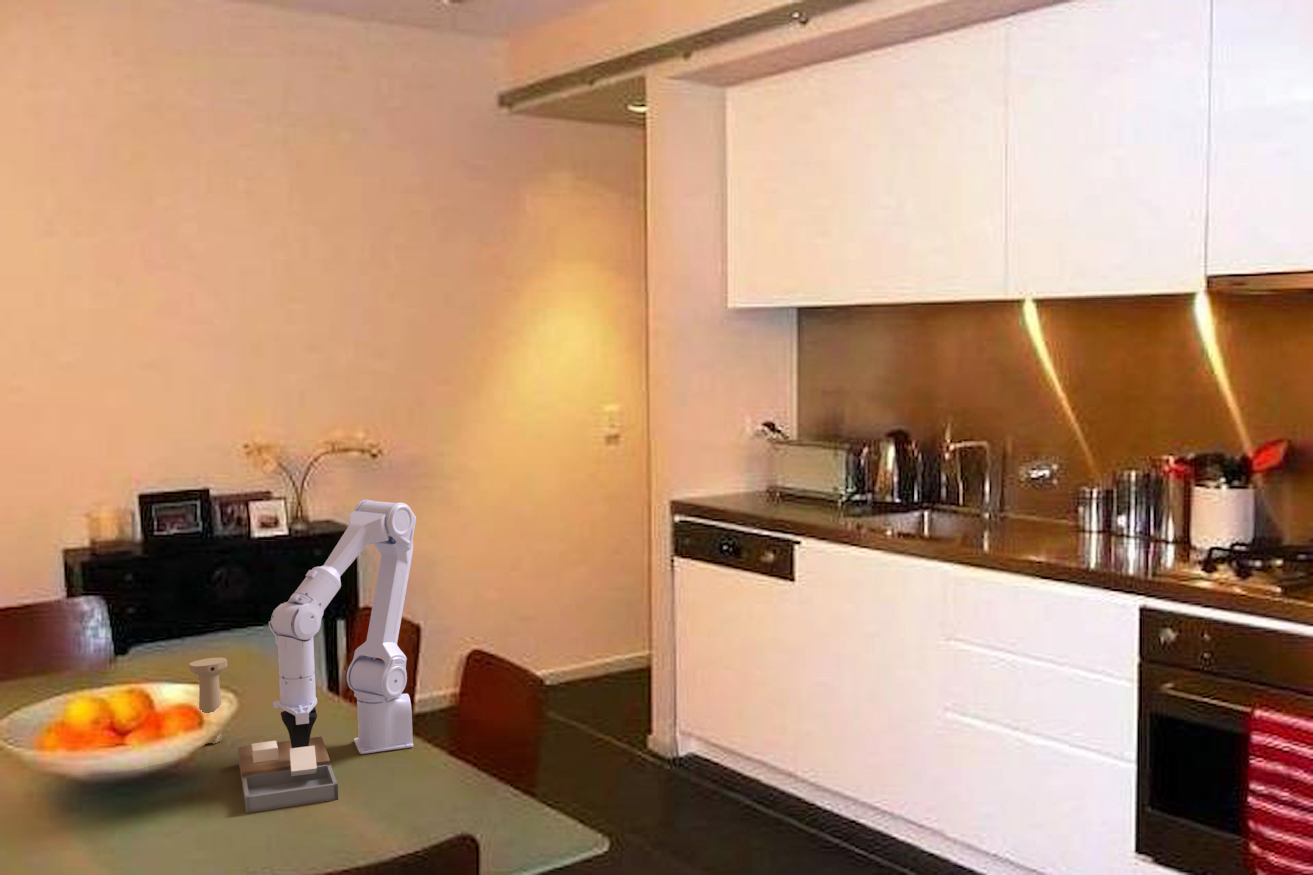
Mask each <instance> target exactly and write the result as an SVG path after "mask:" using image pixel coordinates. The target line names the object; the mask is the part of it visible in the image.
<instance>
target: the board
mask: <svg viewBox="0 0 1313 875" xmlns="http://www.w3.org/2000/svg"><path fill="white" fill-rule="evenodd" d="M276 742H277V741H276ZM277 746H278V760H271V761H263V762H256V763H253V758H252V745H247V746H240V747H237V748H238V749H237V750H238V768H239V774H240V781H241V786H242V787H241V788H242V789H243V783H242V776H248V775H255V774H262V773H269V772H276V771H284V770H290V758H289V750H290V748H292V746H291V741H290V740H284V741H278V742H277ZM309 746H315V754H316V765H317V766H319V765H326V764H331V759H330V755H329V754H328V751H327V748H326V747H327V746H325V743H324V739H323V737H322V736H314V737H310V741H309Z"/></svg>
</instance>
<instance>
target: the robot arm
mask: <svg viewBox="0 0 1313 875" xmlns="http://www.w3.org/2000/svg"><path fill="white" fill-rule="evenodd" d="M416 523H417V517H416V515H415V514H414V512H413V510H412V509H411V507H410V506H409V505H408V504H407V503H405V502H389V501H388V502H387V501H380V500H379V501H377V500H372V499H363V500H361V501H359V502H358V503H357V504H356V505H355V507H354V510H353V511H352V512H351V513H350V514H349V515H348V526H347V528H346V529H345V531H344V533H343V534H342V536H341V537H340V539H339V540H338V542H337V544H336V545H335V547H334V548H333V549H332V551H331V553H330V554H329V555H328V558H327V559H326V560H325V562H324V564H323V565H321V566H314V567H313V568H312V569H308V571H307V572H306V574H305V578H304V579H303V580H302V582H301V583H300V584H299V586H298V587H297V589H295V591H294V592H293V593H292V594H291V596H290V597H289V599H288V601H286V602H285V601H284V602H283V603H280V604H279V605H278V606H277V607H276V608H275V609H273V611H272V614H271V618H270V621H269V620H268V627H269V630H270V632H271V633H272V634H273V636H274V639H275V645H276V646H277V654H278V655H277V657H278V658H277V659H278V679H279V680H278V681H279V700H274V701H273V702H272V707H273V708H274V709H282V710H283V711H281V712H280V716H281V720H282V722H283V724H284V726H285V727H286V729H287V732H288V736H289V741H291V746H292V748H298V747H307V746H309V741H310V738H311V733H312V730H313V727H314V724H315V722H316V720H317V717H318V713H317V709H316V707H315V706H316V705H317V704H318V697H316V694H317V692H316V672H315V671H316V669H315V667H316V666H315V647H314V646H315V645H314V642H315V641H314V637H315V635H317V634H318V633H319V631H320V628H321V626H322V618H323V616H324V613H325V612H324V611H325V610H326V608H327V607H328V606H329V604H330V603H331V601H332V600H333V598H334V597H335V596H336V595H337V593H338V592H339V590H340V589H341V587H342V582H341V576H343V574H344V573H345V572H346V570H348V568H349V567H350V566H351V565H352V564H353V562H354V561H355V560H356V559H357V558H358V557H359V555H360V554H361V553H362V552H363V550H364V549H365V548H366V547H367V546H368V545H372V544H373V545H374V547H375V548H376V549H377V550H378V552H379V553H380V555H381V556H380V562H379V568H378V572H377V579H376V584H375V588H374V590H375V591H374V594H373V595H374V596H373V602H372V607H371V613H370V619H369V625H368V631H367V635H366V640H365V642H363V643H362V644H361V645H359V646H358V647H357V648H356V649H355V650H354V652H353V654H354V655H353V658H352V661H351V662H350V664H349V666H348V668H347V672H346V682H347V686H348V688H349V689H351V691H353V697H355V698H356V705H357V706H356V708H357V732H358V733H357V734H358V735H357V736H358V737H355V738H353V741H354V744H355V747H356V748H357V750H358V753H359V754H360V755H363V754H371V753H379V752H387V751H393V750H400V749H401V750H402V749H408V748H413V747H414V741H413V715H412V714H413V712H412V703H411V698H410V695H409V693H403V692H404V690H405V688H406V685H407V681H408V676H407V675H408V673H407V669H406V668H407V660H408V658H407V656H406V654H405V653H404V652H403V651H402V650H401V648H400V647H399V645H398V641H399V634H400V630H401V629H400V628H401V623H402V619H403V618H402V616H403V611H404V606H405V602H406V601H405V598H406V594H407V588H408V582H409V576H410V571H411V565H412V558H413V553H414V533H415V529H416ZM378 659H381V660H378Z"/></svg>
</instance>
